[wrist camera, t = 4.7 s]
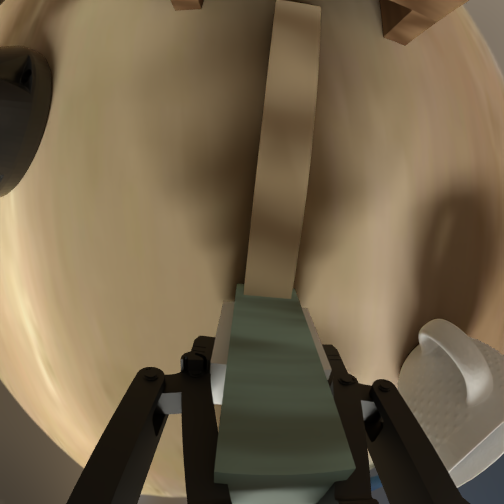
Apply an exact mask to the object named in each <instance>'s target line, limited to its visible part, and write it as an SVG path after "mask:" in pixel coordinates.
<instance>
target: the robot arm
mask: <svg viewBox="0 0 504 504" xmlns="http://www.w3.org/2000/svg"><path fill="white" fill-rule="evenodd" d="M4 1H5V0H0V5H1V4H2V3H3V2H4ZM50 98H51V73H50V68H49V65H48V62H47V61H46V59H45V58H44V56H43V55H42V54H40V53H38V52H36V51H34V50H32V49H29V48H27V47H24V46H7V47H0V197H2V196H4V195H6V194H8V193H9V192H10V191H11V190H13V189H14V188H15V186H16V185H17V184H18V183H19V182H20V180H21V179H22V178H23V176H24V175H25V173H26V171H27V169H28V168H29V166H30V164H31V162H32V160H33V158H34V155H35V153H36V151H37V148H38V146H39V143H40V140H41V137H42V134H43V131H44V128H45V124H46V120H47V116H48V111H49V106H50ZM234 303H235V302H230V301H223V305H222V310H221V315H220V319H219V324H218V329H217V333H216V338H215V337H207V336H199V337H198V338H196V339H195V340H194V343H193V347H192V349H191V352H187V353H185V354H183V355H182V357H181V372H180V373H177V374H172V375H164V373H163V371H161V370H160V369H158V368H155V367H146V368H143V369H141V370H140V371H139V372H138V373H137V374H136V376H135V378H134V380H133V381H132V383H131V385H130V386H129V388H128V390H127V392H126V393H125V395H124V397H123V399H122V400H121V402H120V404H119V406H118V407H117V409H116V411H115V413H114V414H113V416H112V418H111V420H110V422H109V423H108V425H107V427H106V429H105V431H104V432H103V434H102V436H101V438H100V440H99V442H98V443H97V445H96V447H95V449H94V451H93V453H92V455H91V456H90V458H89V460H88V462H87V464H86V466H85V468H84V470H83V472H82V474H81V476H80V478H79V480H78V482H77V484H76V485H75V487H74V489H73V492H72V493H71V496H70V497H69V499H68V502H67V503H66V504H137V503H138V500H139V497H140V494H141V491H142V488H143V485H144V482H145V480H146V477H147V474H148V471H149V468H150V465H151V462H152V460H153V457H154V454H155V451H156V448H157V445H158V443H159V440H160V437H161V434H162V432H163V429H164V426H165V423H166V421H167V418H168V415H169V414H179V413H182V437H183V455H184V470H185V482H186V493H187V502H188V504H232V501H231V497H230V493H229V488H228V484H221V483H214V469H215V460H216V451H217V442H218V429H217V423H216V416H215V410H214V404H220V405H222V399H223V390H224V382H225V374H226V366H227V358H228V350H229V342H230V334H231V326H232V318H233V310H234ZM302 310H303V313H304V316H305V318H306V321H307V324H308V327H309V330H310V332H311V335H312V338H313V341H314V343H315V346H316V349H317V352H318V355H319V358H320V361H321V363H322V366H323V369H324V372H325V375H326V378H327V381H328V384H329V387H330V390H331V393H332V395H333V398H334V401H335V404H336V407H337V410H338V413H339V417H340V420H341V423H342V426H343V429H344V432H345V435H346V438H347V441H348V444H349V448H350V451H351V454H352V457H353V460H354V464H355V467H356V469H355V470H354V472H353V473H352V474H351V475H350V477H349V478H348V479H347V480H343V481H336V482H334V483H333V485H332V486H331V487H330V488H329V490H328V491H327V492H326V493H325V495H324V496H323V497H322V498H321V499H320V500H319V502H318V503H317V504H379V502H378V501H377V500H376V499H373V498H372V496H371V483H370V470H369V459H368V451H369V453H370V456H371V458H372V461H373V463H374V465H375V468H376V470H377V473H378V475H379V478H380V480H381V483H382V485H383V488H384V490H385V492H386V495H387V498H388V501H389V503H390V504H470V503H469V502H467V501H466V500H465V499H464V498H463V497H462V496H461V494H460V492H459V491H458V489H457V487H456V485H455V483H454V482H453V480H452V478H451V476H450V474H449V473H448V471H447V469H446V467H445V466H444V464H443V462H442V461H441V459H440V457H439V455H438V454H437V452H436V450H435V449H434V447H433V445H432V444H431V442H430V440H429V439H428V437H427V436H426V434H425V432H424V431H423V429H422V427H421V426H420V424H419V423H418V421H417V419H416V418H415V416H414V415H413V413H412V411H411V410H410V408H409V407H408V405H407V404H406V402H405V401H404V399H403V397H402V396H401V394H400V393H399V391H398V390H397V388H396V387H395V385H394V384H393V383H392V382H390V381H388V380H384V379H379V380H376V381H375V382H373V385H372V386H370V385H364V384H360V383H358V381H357V379H356V378H355V377H354V376H352V375H350V374H348V372H347V370H346V368H345V366H344V364H343V361H342V359H341V357H340V355H339V353H338V350H337V349H336V348H335V347H334V346H333V345H322V343H321V341H320V338H319V336H318V333H317V331H316V328H315V326H314V323H313V321H312V318H311V316H310V313H309V311H308V308H302ZM367 448H368V450H367Z"/></svg>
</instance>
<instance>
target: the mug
mask: <svg viewBox="0 0 504 504" xmlns="http://www.w3.org/2000/svg"><path fill="white" fill-rule="evenodd" d="M419 343H420V344H419V345H418V346H417V347H416V348H415V349H414V350H413V351H412V352H411V353H410V354H409V355H408V357H407V358H406V360H405V362H404V364H403V366H402V368H401V371H400V375H399V380H398V391H399V393H400V394H401V396H402V397H403V399H404V401H405V402H406V404H407V405H408V407H409V408H410V410H411V411H412V413H413V415H414V416H415V418H416V419H417V421H418V423H419V424H420V426H421V427H422V429H423V431H424V432H425V434H426V436H427V437H428V439H429V440H430V442H431V444H432V445H433V447H434V449H435V450H436V452H437V454H438V455H439V457H440V459H441V461H442V462H443V464H444V466H445V467H446V469H447V471H448V473H449V474H450V476H451V478H452V480H453V482H454V483H455V485H456V487H459V486H461V485H463V484H465V483H466V482H468V481H469V480H471V479H473V478H474V477H475V476H477V475H478V474H480V473H481V472H482V471H484V470H485V469H486V468H488V467H489V466H490V465H491V464H492V463H493V462H495V461H496V460H497V459H498V458H499V457H500V456H501V455H502V454H504V355H502V354H501V353H499V352H498V350H495V349H494V348H492V347H491V346H489V345H488V344H485V343H483V342H481V341H479V340H478V339H473V338H471V337H468V336H467V335H466V334H465V333H464V332H463V331H462V330H461V329H460V328H458V327H457V326H456V325H454V324H452V323H451V322H449V321H447V320H444V319H434V320H431V321H429V322H428V323H426V324H425V325H424V326H423V327H422V328H421V329H420V331H419Z"/></svg>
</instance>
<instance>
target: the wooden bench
mask: <svg viewBox="0 0 504 504" xmlns="http://www.w3.org/2000/svg"><path fill="white" fill-rule="evenodd" d="M467 1H469V0H380V6H381V14H382V24H383V37H384V38H387V39H390V40H392V41H395V42H398V43H400V44H403V45H406V44H408V43H409V42H410V41H412V40H413V39H414V38H416V37H417V36H418V35H420V34H421V33H422V32H424V31H425V30H427V29H428V28H429V27H431V26H432V25H434V24H435V23H436V22H438V21H439V20H441V19H442V18H443V17H445V16H446V15H448V14H449V13H451V12H452V11H454V10H455V9H457V8H458V7H460V6H461V5H463V4H464V3H466V2H467ZM171 2H172V4H173V6H174V8H175V10H190V9H201V7H202V4H203V0H171Z"/></svg>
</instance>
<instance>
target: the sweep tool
mask: <svg viewBox="0 0 504 504" xmlns="http://www.w3.org/2000/svg"><path fill="white" fill-rule="evenodd" d="M320 27H321V7H319V6H314V5H309V4H303V3H297V2H291V1H284V0H276V5H275V12H274V20H273V28H272V37H271V46H270V54H269V63H268V72H267V80H266V89H265V98H264V107H263V116H262V125H261V134H260V143H259V152H258V161H257V170H256V179H255V189H254V198H253V207H252V216H251V226H250V235H249V244H248V254H247V263H246V273H245V282H244V284H238V283H237V288H236V295H235V303H234V310H233V318H232V326H231V334H230V342H229V350H228V358H227V366H226V374H225V382H224V390H223V399H222V407H221V416H220V424H219V433H218V442H217V451H216V460H215V469H214V483H221V484H228V488H229V493H230V497H231V501H232V504H317V503H318V502H319V500H320V499H321V498H322V497H323V496H324V495H325V493H326V492H327V491H328V490H329V488H330V487H331V486H332V485H333V483H334V482H336V481H343V480H347V479H348V478H349V477H350V475H351V474H352V473H353V472H354V470H355V469H356V467H355V464H354V460H353V457H352V454H351V451H350V448H349V444H348V441H347V438H346V435H345V432H344V429H343V426H342V423H341V420H340V417H339V413H338V410H337V407H336V404H335V401H334V398H333V395H332V393H331V390H330V387H329V384H328V381H327V378H326V375H325V372H324V369H323V366H322V363H321V361H320V358H319V355H318V352H317V349H316V346H315V343H314V341H313V338H312V335H311V332H310V330H309V327H308V324H307V321H306V318H305V316H304V313H303V310H302V307H301V305H300V302H299V299H298V297H297V294H296V291H295V289H293V284H294V278H295V272H296V265H297V259H298V253H299V246H300V239H301V232H302V225H303V218H304V211H305V203H306V195H307V187H308V179H309V170H310V161H311V152H312V142H313V132H314V121H315V110H316V98H317V84H318V69H319V51H320Z"/></svg>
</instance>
